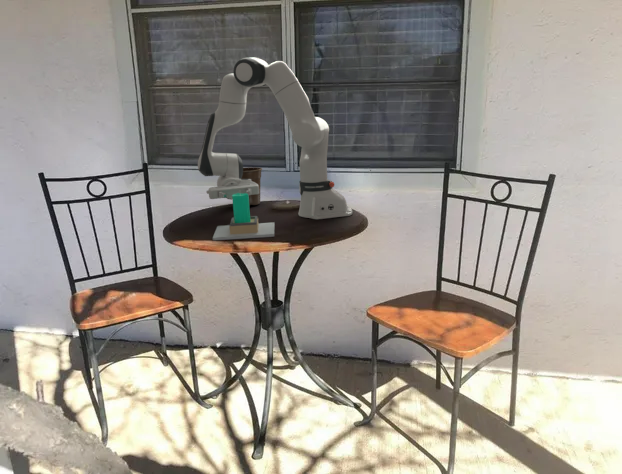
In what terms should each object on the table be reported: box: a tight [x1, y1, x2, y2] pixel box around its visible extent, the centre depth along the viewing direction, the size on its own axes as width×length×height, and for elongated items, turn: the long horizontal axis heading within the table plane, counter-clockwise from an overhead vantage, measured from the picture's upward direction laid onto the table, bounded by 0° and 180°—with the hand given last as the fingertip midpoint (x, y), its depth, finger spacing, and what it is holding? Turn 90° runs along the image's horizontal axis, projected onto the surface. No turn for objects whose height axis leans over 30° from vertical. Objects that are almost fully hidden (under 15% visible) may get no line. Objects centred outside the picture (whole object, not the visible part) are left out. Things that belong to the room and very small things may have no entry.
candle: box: [232, 193, 251, 223], centre depth 186 cm, size 6×6×12 cm
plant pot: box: [241, 166, 263, 207], centre depth 231 cm, size 16×16×16 cm
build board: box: [212, 215, 276, 241], centre depth 188 cm, size 22×16×5 cm
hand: (236, 194), depth 197 cm, fingers open, 8 cm apart
